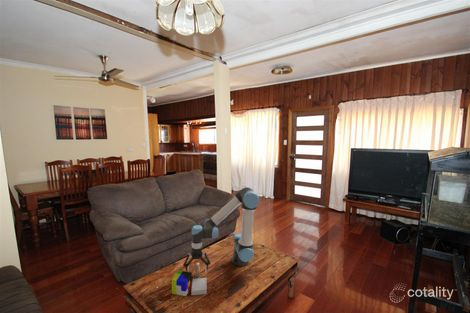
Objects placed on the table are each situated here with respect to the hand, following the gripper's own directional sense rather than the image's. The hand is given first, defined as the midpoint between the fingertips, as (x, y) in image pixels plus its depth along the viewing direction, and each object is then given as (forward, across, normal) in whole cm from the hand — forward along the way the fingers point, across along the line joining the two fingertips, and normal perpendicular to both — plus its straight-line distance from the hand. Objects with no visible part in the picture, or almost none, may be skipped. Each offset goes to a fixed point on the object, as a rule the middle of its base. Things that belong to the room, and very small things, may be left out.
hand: (197, 273), depth 158 cm
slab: (+3, -2, +12) cm, 13 cm away
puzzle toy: (+3, +10, +12) cm, 16 cm away
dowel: (+2, 0, 0) cm, 2 cm away
